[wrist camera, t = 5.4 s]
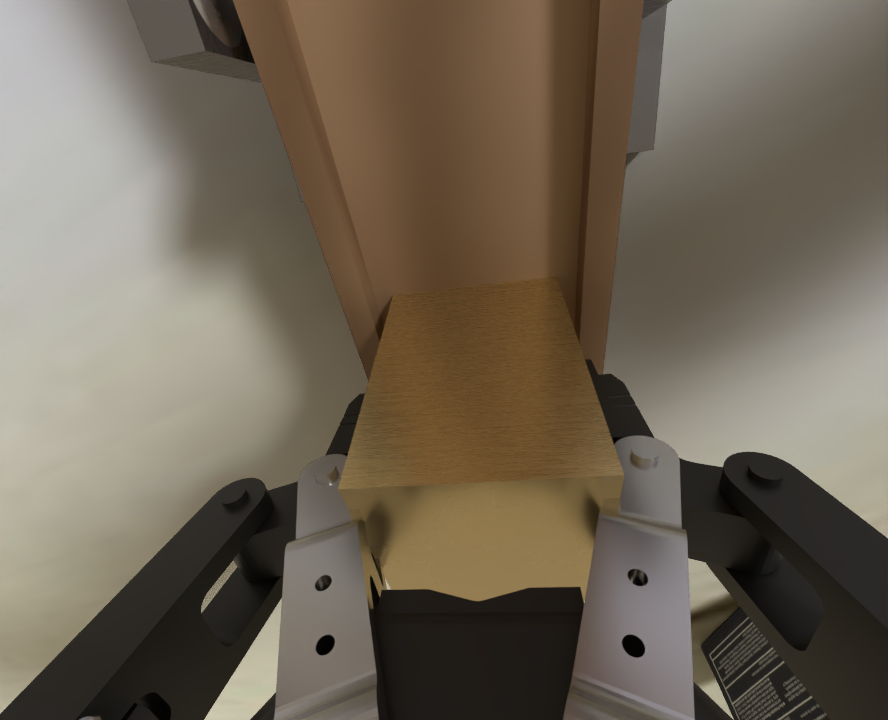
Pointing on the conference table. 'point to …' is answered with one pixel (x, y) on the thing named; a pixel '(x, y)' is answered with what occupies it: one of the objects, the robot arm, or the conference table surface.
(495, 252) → the beam
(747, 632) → the small box
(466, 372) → the wooden block
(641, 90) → the pivot stand
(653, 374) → the conference table surface
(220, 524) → the robot arm
